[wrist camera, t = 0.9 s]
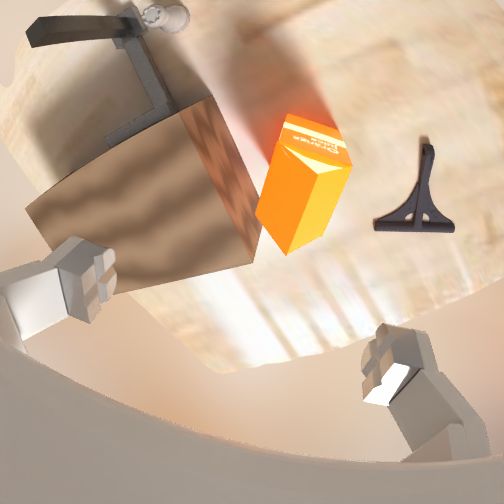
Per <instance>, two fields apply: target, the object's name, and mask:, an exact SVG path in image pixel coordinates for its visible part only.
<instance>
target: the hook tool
mask: <svg viewBox="0 0 504 504" xmlns="http://www.w3.org/2000/svg"><path fill="white" fill-rule="evenodd" d="M146 33H148V29H147V27H146V25H145V24H144V23H143V20H142V19H141V15H140V13H139V11H138V9H137V7H134V6H130V7H129V8H127V9H126V10H125V11H123V12H122V13H120V14H119V15H117V16H48V17H39V18H38V19H37V20H36V21H35V22H34V23H33V24H32V25H31V26H30V27H29V28H28V29H27V31H26V35H27V37H28V40H29V42H30V45H31V47H32V48H34V47H40V46H46V45H52V44H59V43H66V42H75V41H84V40H95V39H110V38H112V40H113V42H114V44H115V46H116V49H123V48H124V47H125V49H126V51H127V53H128V55H129V57H130V59H131V61H132V63H133V65H134V67H135V69H136V71H137V73H138V76H139V78H140V80H141V82H142V84H143V86H144V88H145V90H146V92H147V94H148V96H149V98H150V100H151V102H152V104H153V106H154V109H152V110H151V111H149V112H147V113H145V114H143V115H142V116H140V117H138V118H136V119H135V120H133V121H131V122H129V123H128V124H126V125H124V126H123V127H121V128H119V129H118V130H116V131H115V132H113V133H111V134H110V135H108V136H107V137H105V139H106V141H107V143H108V145H109V147H110V148H111V147H113V146H115V145H116V144H118V143H120V142H122V141H123V140H125V139H127V138H129V137H130V136H132V135H134V134H136V133H137V132H139V131H141V130H143V129H145V128H147V127H148V126H150V125H152V124H154V123H156V122H158V121H160V120H162V119H164V118H166V117H168V116H170V115H172V114H173V113H175V112H177V111H178V110H177V108H176V106H175V104H174V102H173V99H172V97H171V95H170V93H169V91H168V89H167V87H166V85H165V83H164V81H163V79H162V77H161V75H160V73H159V71H158V69H157V67H156V65H155V63H154V61H153V59H152V57H151V55H150V53H149V50H148V48H147V46H146V44H145V42H144V40H143V38H142V36H143V35H144V34H146Z"/></svg>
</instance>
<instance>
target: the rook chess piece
mask: <svg viewBox="0 0 504 504" xmlns="http://www.w3.org/2000/svg"><path fill="white" fill-rule="evenodd" d="M143 12H144V13H143V15H142V16H141V19H142V20H143V23H144V24H145V25H146V26H147V27H150V28H155V27H160V28H161V29H162V30H163V31H165V32H168V33H178V32H181V31H183V30H184V29H185V28H186V27H187V26H188V23H189V21H190V14H189V12H188V10H187V9H186V8H185V7H183V6H179V5H172V6H168V7H166V8H165V7H163V6H162V5H159V4H154V5H151V6H149V7H148V8H147V9H145V10H144V11H143Z"/></svg>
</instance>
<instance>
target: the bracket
mask: <svg viewBox="0 0 504 504" xmlns="http://www.w3.org/2000/svg"><path fill="white" fill-rule="evenodd" d="M434 157H435V153H434V148H433V146H432V145H428V144H423V150H422V160H421V170H420V178H419V183H417V185H416V188H415V190H414V192H413V194H412V195H411V197H410V198H409V199H408V201H407V202H406V203H405V204H404V205H403V206H402V207H400V208H399V209H398V210H396V211H395V212H393V213H391V214H389V215H387V216H385V217H382V218H380V219H378V221H375V223H376V227H375V228H374V230H375V231H396V232H443V233H453V232H454V231H455V226H454V223H452V221H450V220H449V219H447V218H445V217H444V216H443V215H441V214H440V213H439V211H438V210H437V209H436V208H435V206H434V205H433V202H432V199H431V196H430V191H429V185H428V182H429V177H430V173H431V169H432V165H433V161H434ZM410 213H414V218H413V221H412V222H403V221H404V219H405V217H406V216H407V215H409V214H410ZM423 213H425V214H427V215H428V216H429V219H430V222H422V219H423Z"/></svg>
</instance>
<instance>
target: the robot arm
mask: <svg viewBox="0 0 504 504" xmlns="http://www.w3.org/2000/svg"><path fill="white" fill-rule="evenodd" d="M115 261H116V260H115V251H114V250H113V249H112V248H109V247H106V246H103V245H100V244H97V243H94V242H91V241H89V240H85V239H82V238H79V237H77V236H71V237H69V238H68V239H67V240H66V241H65V242H64V243H62V244H61V245H60V246H59V247H58V248H57V249H55V250H54V251H53V252H52V253H51V254H50V255H49V256H47V257H46V258H45V259H44V260H43V261H42V262H41V261H34V262H31V263H28V264H25V265H22V266H19V267H15V268H13V269H10V270H6V271H3V272H0V504H504V454H502V455H496V456H492V455H491V450H490V445H489V440H488V436H487V431H486V427H485V423H484V422H483V420H482V419H481V418H480V417H479V415H478V414H477V413H476V411H475V410H474V409H473V408H472V407H471V405H470V404H469V403H468V402H467V401H466V399H465V398H464V397H463V396H462V395H461V393H460V392H459V391H458V390H457V389H456V387H454V385H453V384H452V383H451V382H450V381H449V379H448V378H447V377H446V376H445V375H444V374H443V373H442V372H439V371H438V367H437V363H436V360H435V356H434V353H433V350H432V346H431V343H430V339H429V336H428V334H427V333H426V332H425V331H421V330H416V329H408V328H404V327H399V326H395V325H390V324H386V323H382V324H381V325H380V326H379V327H378V329H377V331H376V339H374V340H372V341H370V342H369V343H368V345H367V346H366V348H365V350H364V353H363V356H362V361H361V371H362V372H363V374H364V375H365V377H366V379H365V380H364V381H363V383H362V387H363V401H367V402H372V403H378V404H385V405H388V406H387V407H388V408H389V410H390V412H391V414H392V415H393V417H394V419H395V421H396V422H397V425H398V426H399V428H400V430H401V432H402V433H403V435H404V437H405V439H406V441H407V442H408V444H409V446H410V448H411V450H412V453H411V454H409V455H408V456H406V457H405V458H403V459H402V460H401V461H400V462H374V461H358V460H346V459H335V458H326V457H319V456H311V455H304V454H298V453H291V452H286V451H280V450H275V449H270V448H265V447H260V446H255V445H251V444H247V443H242V442H238V441H234V440H230V439H226V438H222V437H219V436H215V435H212V434H208V433H205V432H201V431H198V430H195V429H191V428H188V427H185V426H182V425H179V424H176V423H173V422H170V421H167V420H164V419H161V418H158V417H156V416H153V415H150V414H148V413H145V412H143V411H140V410H137V409H135V408H132V407H130V406H128V405H125V404H123V403H120V402H118V401H116V400H113V399H111V398H109V397H107V396H104V395H102V394H100V393H98V392H96V391H94V390H92V389H89V388H87V387H85V386H83V385H81V384H79V383H77V382H75V381H73V380H71V379H69V378H68V377H66V376H64V375H62V374H60V373H58V372H56V371H54V370H53V369H51V368H49V367H47V366H46V365H44V364H42V363H40V362H39V361H37V360H35V359H34V358H32V357H30V356H28V351H27V349H26V347H25V345H24V343H23V340H25V339H27V338H29V337H31V336H33V335H34V334H36V333H38V332H40V331H42V330H44V329H45V328H47V327H49V326H51V325H53V324H55V323H57V322H59V321H61V320H62V319H64V318H66V317H68V315H70V316H72V317H74V318H77V319H79V320H82V321H84V322H87V323H89V324H90V323H91V322H92V321H93V320H94V318H95V317H96V315H97V314H98V313H99V312H100V310H101V306H100V303H103V302H106V301H108V300H109V299H110V297H111V296H112V295H113V292H114V289H115V287H116V281H117V274H116V271H115V269H114V268H113V266H112V264H113V263H114V262H115Z"/></svg>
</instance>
